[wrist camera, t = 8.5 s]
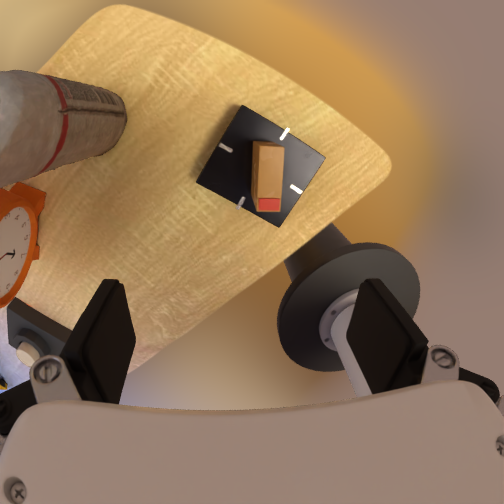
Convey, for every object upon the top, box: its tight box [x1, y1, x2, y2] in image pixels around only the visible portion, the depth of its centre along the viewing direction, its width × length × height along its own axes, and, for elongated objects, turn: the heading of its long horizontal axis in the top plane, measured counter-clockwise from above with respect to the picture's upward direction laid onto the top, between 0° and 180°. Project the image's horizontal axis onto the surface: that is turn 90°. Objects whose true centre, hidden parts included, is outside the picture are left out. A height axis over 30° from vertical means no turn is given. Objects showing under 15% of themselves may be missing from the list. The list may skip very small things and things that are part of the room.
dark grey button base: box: [7, 297, 72, 358], centre depth 35 cm, size 12×10×5 cm
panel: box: [196, 105, 325, 228], centre depth 29 cm, size 10×10×3 cm
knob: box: [251, 141, 285, 212], centre depth 25 cm, size 6×2×6 cm, turn 178°
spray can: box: [0, 70, 127, 188], centre depth 17 cm, size 8×8×20 cm
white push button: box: [16, 342, 40, 367], centre depth 33 cm, size 4×4×2 cm
